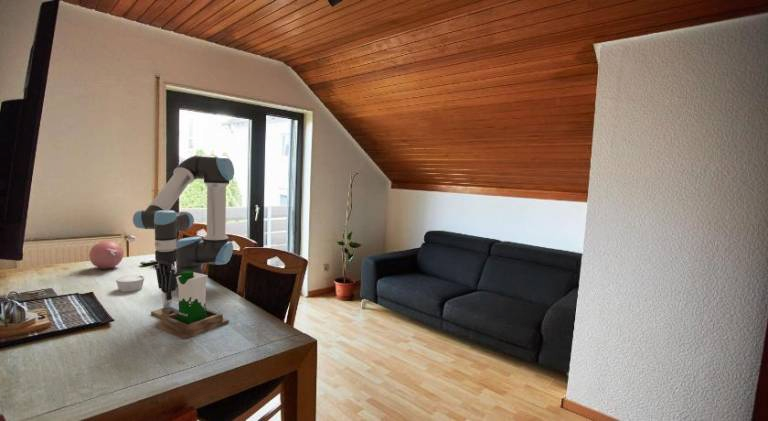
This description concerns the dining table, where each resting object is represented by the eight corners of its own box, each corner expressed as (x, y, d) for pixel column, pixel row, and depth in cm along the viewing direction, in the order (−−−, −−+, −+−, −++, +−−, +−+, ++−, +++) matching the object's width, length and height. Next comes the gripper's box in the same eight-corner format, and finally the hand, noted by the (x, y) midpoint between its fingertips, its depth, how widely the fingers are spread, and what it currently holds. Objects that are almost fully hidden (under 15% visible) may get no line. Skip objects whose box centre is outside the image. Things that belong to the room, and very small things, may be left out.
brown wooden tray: (180, 305, 165) (180, 296, 165) (228, 322, 150) (228, 312, 150) (136, 318, 150) (136, 308, 149) (184, 339, 134) (184, 327, 134)
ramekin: (147, 289, 184) (147, 278, 183) (119, 294, 175) (119, 283, 175) (140, 284, 191) (140, 273, 191) (113, 288, 183) (113, 277, 182)
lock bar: (172, 310, 156) (172, 301, 156) (188, 316, 151) (187, 307, 151) (164, 313, 153) (163, 304, 152) (179, 318, 148) (179, 310, 147)
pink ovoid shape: (95, 275, 201) (94, 246, 199) (86, 267, 214) (85, 240, 212) (129, 270, 212) (129, 243, 211) (119, 263, 226) (118, 237, 224)
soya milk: (174, 323, 144) (173, 271, 142) (195, 315, 153) (194, 266, 150) (190, 328, 141) (189, 275, 138) (211, 320, 149) (210, 269, 147)
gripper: (147, 248, 152) (148, 306, 155) (166, 253, 146) (167, 313, 149) (165, 245, 159) (167, 300, 162) (185, 250, 152) (186, 307, 155)
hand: (167, 306), depth 155 cm, fingers closed
